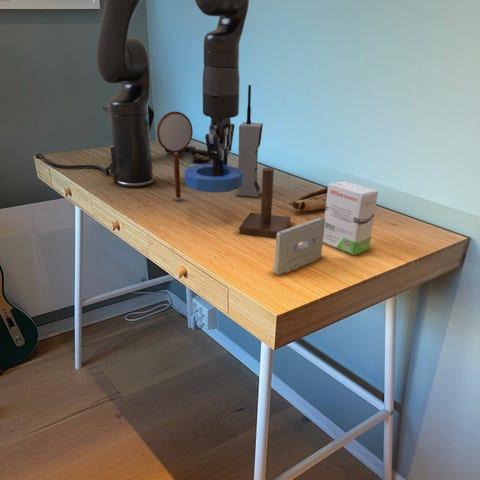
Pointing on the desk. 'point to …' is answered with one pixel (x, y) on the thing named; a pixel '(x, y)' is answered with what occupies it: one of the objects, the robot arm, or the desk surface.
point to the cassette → (299, 255)
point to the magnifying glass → (175, 139)
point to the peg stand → (265, 213)
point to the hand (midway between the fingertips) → (220, 174)
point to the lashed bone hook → (311, 201)
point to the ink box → (349, 216)
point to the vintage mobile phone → (249, 153)
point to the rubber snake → (196, 154)
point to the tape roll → (213, 178)
